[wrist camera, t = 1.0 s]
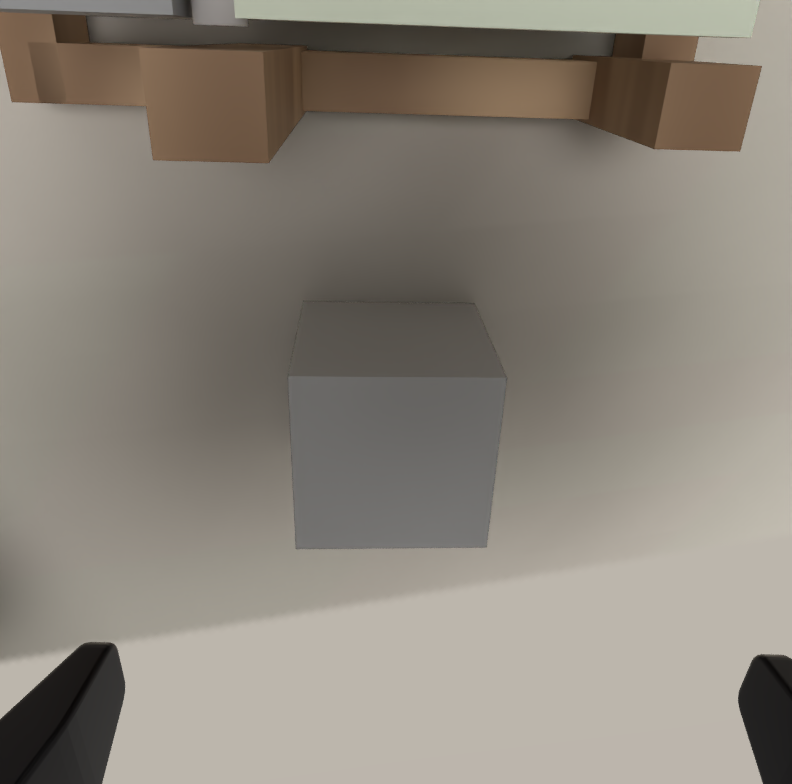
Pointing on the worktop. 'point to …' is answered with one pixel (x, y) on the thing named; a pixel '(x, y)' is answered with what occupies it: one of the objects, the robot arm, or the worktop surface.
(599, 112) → the trapdoor frame
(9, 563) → the worktop surface
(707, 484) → the worktop surface
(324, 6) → the trapdoor
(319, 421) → the grey cube block
